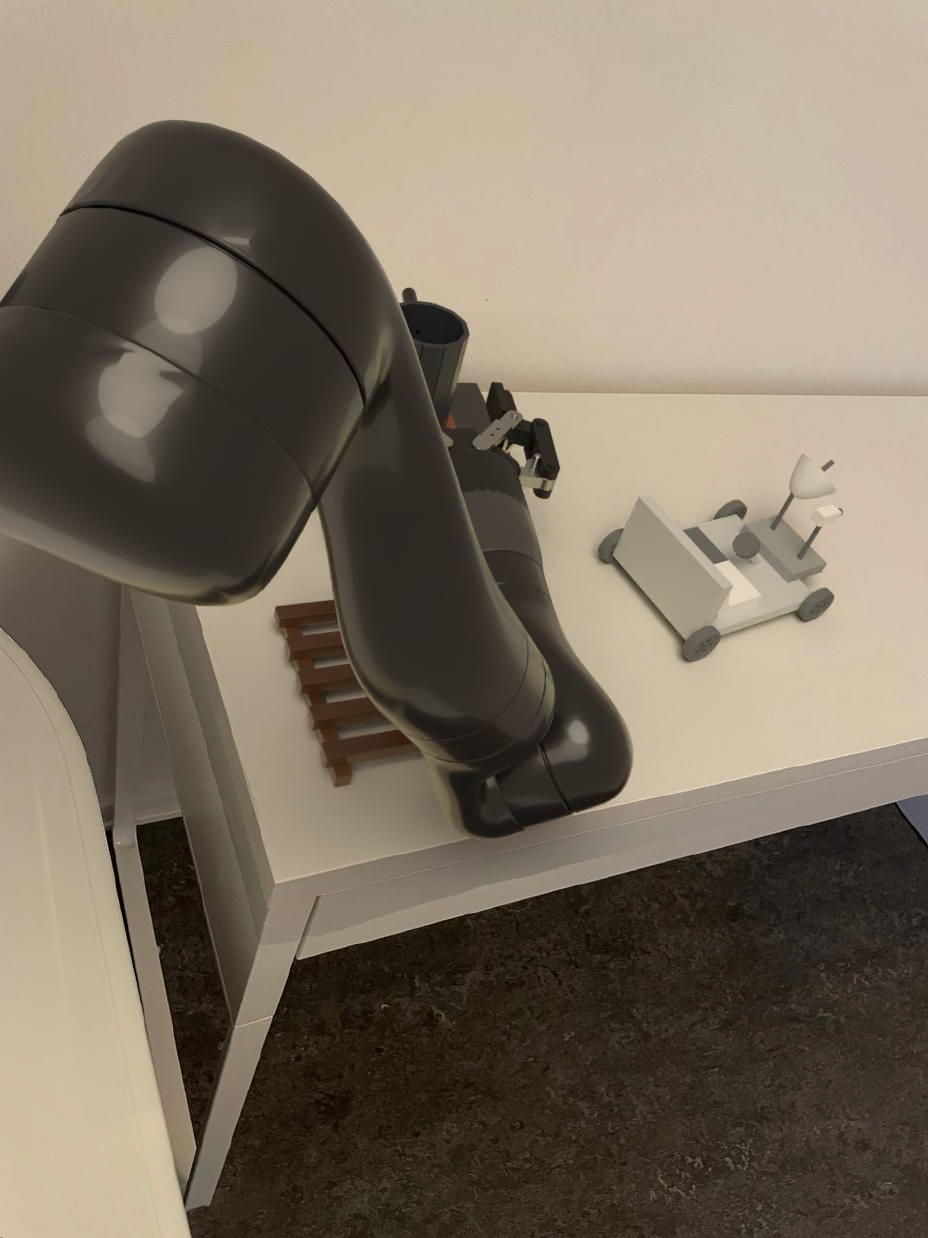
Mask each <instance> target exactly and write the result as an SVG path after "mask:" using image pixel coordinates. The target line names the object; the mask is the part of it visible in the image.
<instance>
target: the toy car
mask: <svg viewBox="0 0 928 1238" xmlns="http://www.w3.org/2000/svg"><path fill="white" fill-rule="evenodd" d="M834 464H835V461H834V460H833V459H830V460H829V461H827V463H825V464H824V465H823V466H821V467H820V466H819V465H818V464H817V463H816V462H815V460H813V459H812V458H811V457H809V456H808V455H806V454H803V453H801V455H800V456H799V459H798V460H797V461H796V464H795V466H794V468H793V471H792V473H791V476H790V479H789V485H788V487H789V489H788V490H789V495H788V496H787V499H786V500H785V501H784V504H783V505H782V506H781V508H780V511H779V512H778V514H777V515H773V516H769V517H766V518H762V519H758V520H754V521H751V522H747V523H745V522H744V521H743V520H744V519H745V518H746V516H747V513H748V506H746V504H745V503H744V502H743V501H742V500H741V499H733V500H730V501H728V502H726V503H725V504H724V505H722V506H721V507H720V508H719V509H718V511H717V512H716V513H715V515H714V517H713V519H712V520H709V521H704V522H701V523H697V524H694V525H689V526H685V527H680V526H679V525H678V524H677V523H676V521H674V519H673V518H672V517H671V516H670V515H669V514H668V513H667V512H666V511H665V510H664V509H663V508H662V507H661V505H660V504H659V502H657V501H656V500H655V499H654V497H652V496H651V495H650V493H647V494H643V495H639V496H637V499H636V500H635V503H634V505H633V508H632V510H631V512H630V514H629V517H628V519H627V521H626V523H625V525H624V527H620V528H618V529H615V530H613V531H611V532H609V534H607V535H606V536H605V537H604V538H603V540H602V541H601V542H600V544H599V546H598V550H597V553H598V555H599V557H600V558H601V559H602V560H603V561H604V562H605V563H607V564H611V563H615V562H618V563H619V565H620V566H621V567H622V568H623V569H624V570H625V571H626V572H627V574H628V575H629V576H630V577H631V578H632V580H633V581H634V582H635V583H636V584H637V586H638V587H639V588H640V589H641V591H643V593H644V594H645V595H646V596H647V598H649V599H650V601H651V602H652V603H653V604H654V605H655V607H656V608H657V609H658V610H659V611H660V612H661V613H662V615H663V616H664V617H665V618H666V619H667V620H668V622H669V623H670V624H671V625H672V626H673V628H674V629H675V630H676V631H677V632H678V633H679V635H680V636H681V637H682V638H683V639H684V640H685V641H684V642H683V644H682V646H681V654H682V655H683V656H684V658H686V660H687V661H689V662H696V661H699V660H701V659H703V658H704V657H706V656H707V655H709V654H710V653H711V652H713V650H714V649H716V647H717V646H718V645H719V643H720V642H721V639H722V636H725V635H727V634H730V633H733V632H736V631H739V630H742V629H744V628H748V627H751V626H754V625H757V624H760V623H762V622H765V621H768V620H769V621H770V620H771V619H775V618H777V617H781V616H783V615H786V614H789V613H792V612H795V611H797V614H798V616H799V618H801V619H802V620H803V621H804V622H810V621H813V620H816V619H817V618H819V617H820V616H821V615H822V614H824V613H825V612H826V611H827V610H828V609H829V608H830V607H831V606H832V604H833V602H834V601H835V594H834V593H833V592H832V591H831V590H830V589H829V588H828V587H821V588H818V589H816V590H814V591H812V590H811V589H810V588H809V587H808V586H807V585H806V584H805V583H804V582H803V581H802V579H806V578H809V577H811V576H815V575H818V574H820V573H823V571H824V569H825V568H826V566H827V565H828V562H826V561H825V559H824V558H822V556H821V555H820V554H819V553H817V552H816V550H814V549H813V548H812V546H811V545H812V543H813V542H814V540H816V538H817V536H818V534H819V533H820V531H821V529H822V528H823V527H824V526H827V525H828V526H829V525H832V524H835V523H837V521H838V520H839V518H840V517H842V516H843V514H844V510H843V509H842V508H841V507H837V506H836V505H835V504H828V505H826V506H821V507H817V508H815V510H814V511H813V513H812V514H811V516H810V517H809V520H810V521H811V522H812V523H814V524H815V525H816V526H815V527H814V529H813V531H812V532H811V533H810V536H809V537H808V538H807V540H806V541H805V540H804V539H803V537H802V536H800V535H799V534H798V533H797V532H796V531H795V530H794V528H792V527H791V526H790V525H789V524H788V523H787V522H786V521H785V520H784V519H783V517H784V515H785V514H786V512H787V511H788V509H789V507H790V505H791V504H792V502H793V500H794V499H797V500H812V499H813V500H814V499H819V498H822V497H827V496H829V495H833V494H836V492H837V489H836V486H835V485H834V483H833V481H832V480H831V479H830V477H829V476H828V475H827V473H826V471H827V470H828V469H830V468H831V467H832V466H833V465H834Z"/></svg>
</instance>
